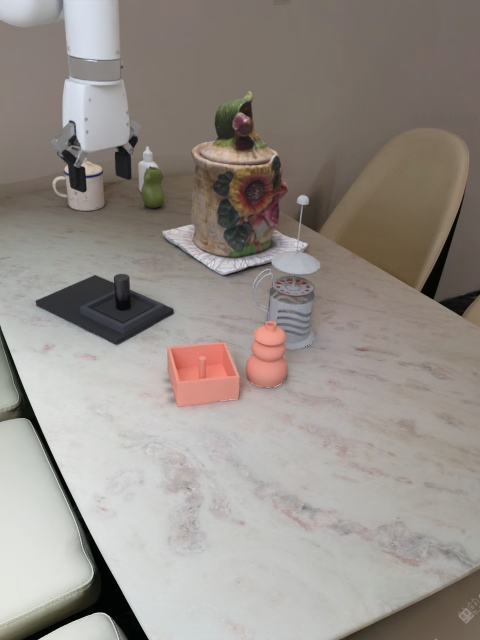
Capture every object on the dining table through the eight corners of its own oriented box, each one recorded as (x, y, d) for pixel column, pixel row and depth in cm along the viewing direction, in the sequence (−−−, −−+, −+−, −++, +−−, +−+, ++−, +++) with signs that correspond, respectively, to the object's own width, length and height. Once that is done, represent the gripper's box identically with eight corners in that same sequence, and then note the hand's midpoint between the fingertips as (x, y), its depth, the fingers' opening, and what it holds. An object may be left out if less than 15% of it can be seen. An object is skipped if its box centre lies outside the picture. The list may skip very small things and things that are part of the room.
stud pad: (93, 313, 103) (90, 277, 100) (123, 299, 109) (121, 264, 105) (123, 328, 100) (121, 291, 96) (153, 312, 106) (152, 276, 102)
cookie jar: (157, 237, 135) (154, 84, 117) (241, 217, 149) (249, 79, 131) (224, 280, 120) (232, 112, 102) (310, 253, 135) (330, 102, 117)
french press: (321, 349, 102) (342, 207, 88) (254, 350, 100) (265, 206, 86) (308, 319, 110) (326, 185, 96) (246, 320, 108) (255, 183, 94)
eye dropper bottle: (153, 188, 162) (152, 143, 155) (160, 195, 158) (159, 149, 151) (138, 190, 160) (136, 144, 153) (144, 197, 156) (142, 150, 149)
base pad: (35, 305, 106) (33, 293, 105) (95, 279, 116) (94, 267, 115) (117, 345, 98) (116, 332, 96) (173, 313, 108) (173, 301, 106)
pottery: (177, 406, 86) (176, 350, 80) (167, 369, 93) (166, 315, 88) (295, 393, 91) (302, 339, 85) (277, 358, 98) (282, 306, 93)
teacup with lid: (102, 198, 153) (98, 151, 146) (108, 210, 146) (105, 162, 140) (53, 200, 149) (47, 153, 142) (57, 213, 142) (51, 164, 135)
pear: (156, 202, 154) (155, 162, 148) (168, 208, 151) (168, 168, 145) (138, 205, 150) (136, 166, 145) (149, 212, 147) (148, 172, 142)
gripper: (120, 61, 96) (124, 168, 106) (29, 69, 84) (43, 188, 93) (154, 70, 93) (155, 179, 103) (65, 79, 81) (75, 202, 90)
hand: (101, 183), depth 98 cm, fingers open, 9 cm apart
